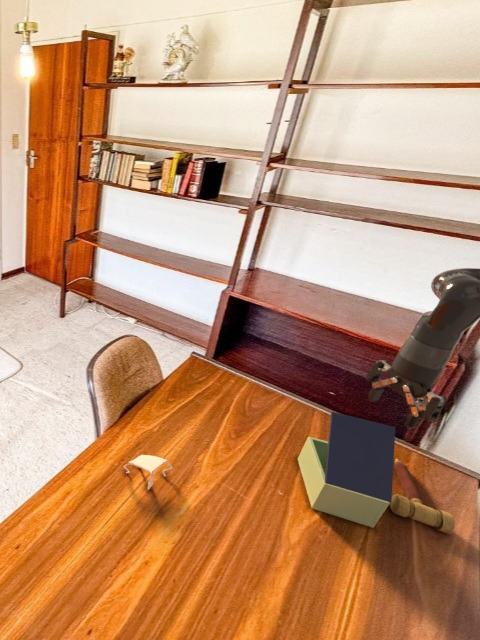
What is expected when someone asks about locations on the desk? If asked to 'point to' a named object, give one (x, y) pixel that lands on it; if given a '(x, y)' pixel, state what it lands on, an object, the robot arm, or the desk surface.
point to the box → (335, 489)
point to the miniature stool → (148, 465)
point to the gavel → (418, 504)
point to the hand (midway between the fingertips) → (389, 412)
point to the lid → (360, 456)
